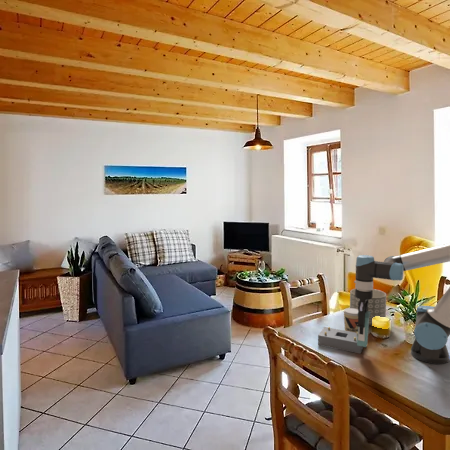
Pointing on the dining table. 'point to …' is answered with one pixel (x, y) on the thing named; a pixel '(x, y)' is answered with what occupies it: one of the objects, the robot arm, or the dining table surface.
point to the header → (339, 339)
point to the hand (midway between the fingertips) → (362, 338)
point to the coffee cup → (351, 319)
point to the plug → (364, 343)
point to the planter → (371, 304)
